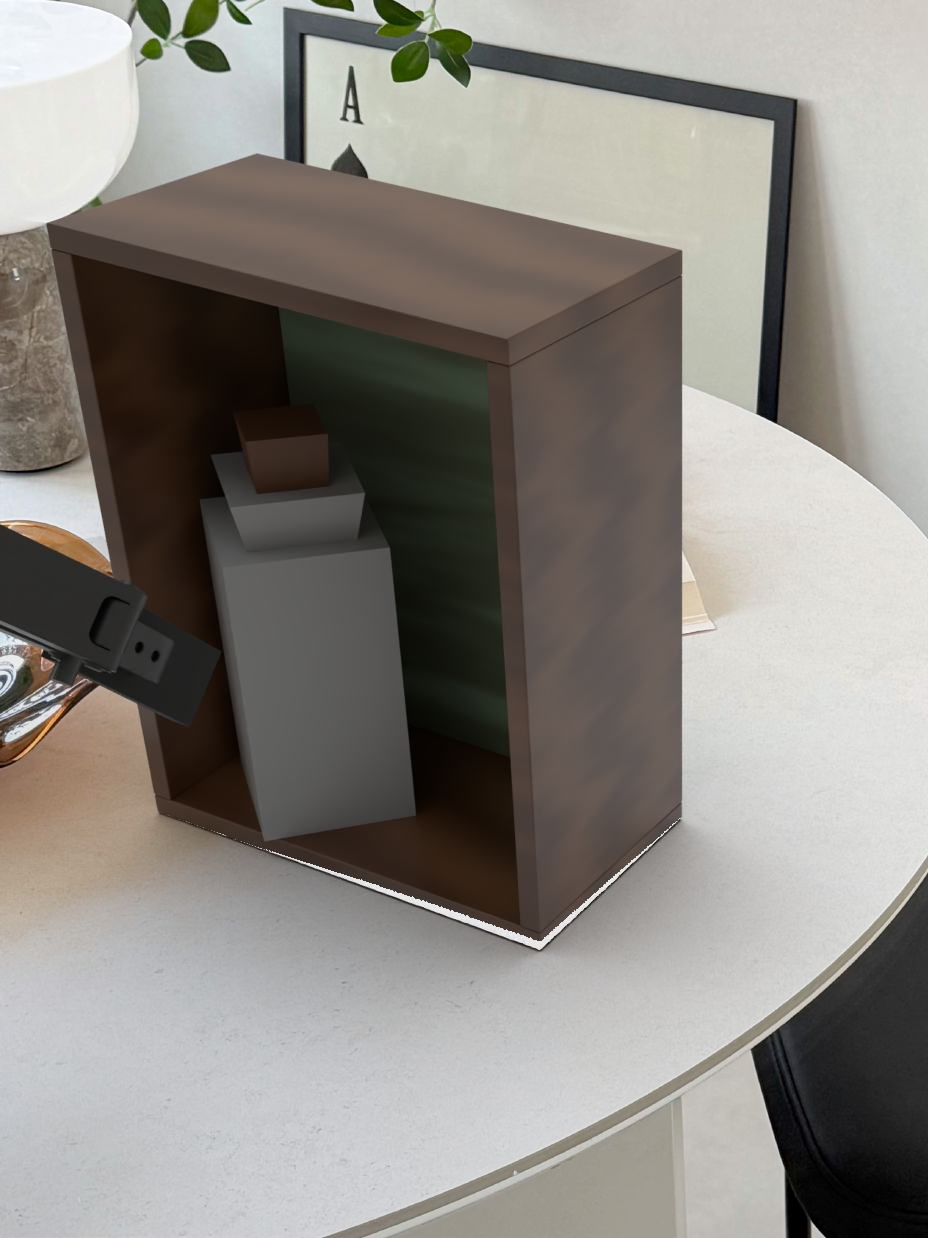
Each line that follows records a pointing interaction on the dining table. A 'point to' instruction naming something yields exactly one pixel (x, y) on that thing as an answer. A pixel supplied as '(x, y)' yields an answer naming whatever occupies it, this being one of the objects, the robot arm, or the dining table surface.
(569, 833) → the cabinet
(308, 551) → the perfume bottle
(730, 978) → the dining table surface
